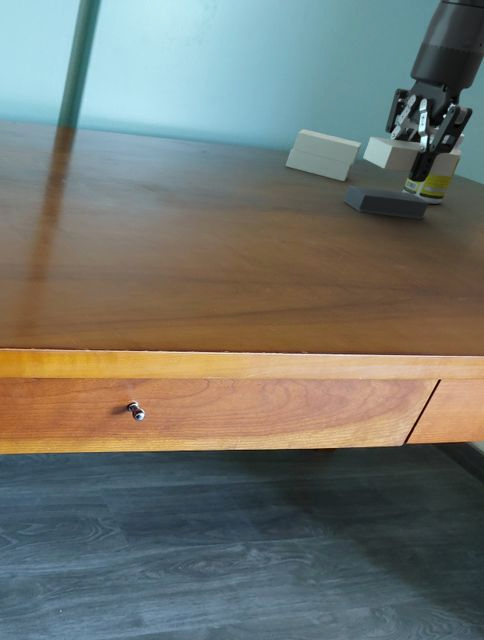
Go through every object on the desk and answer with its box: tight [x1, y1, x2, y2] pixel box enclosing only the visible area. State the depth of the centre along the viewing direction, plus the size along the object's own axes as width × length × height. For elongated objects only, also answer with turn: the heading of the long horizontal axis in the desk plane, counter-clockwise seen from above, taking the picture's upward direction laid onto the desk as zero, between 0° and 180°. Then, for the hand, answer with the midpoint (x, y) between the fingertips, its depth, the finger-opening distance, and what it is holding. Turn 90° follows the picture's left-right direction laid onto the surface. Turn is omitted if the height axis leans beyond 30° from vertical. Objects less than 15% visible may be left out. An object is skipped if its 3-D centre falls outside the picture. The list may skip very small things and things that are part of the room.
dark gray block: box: [343, 185, 429, 220], centre depth 104 cm, size 10×4×4 cm, turn 96°
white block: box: [362, 136, 460, 177], centre depth 100 cm, size 10×6×3 cm, turn 96°
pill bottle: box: [401, 127, 465, 205], centre depth 119 cm, size 6×6×11 cm
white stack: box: [285, 128, 363, 182], centre depth 126 cm, size 10×4×6 cm, turn 61°
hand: (403, 173), depth 101 cm, fingers closed on white block, 5 cm apart
